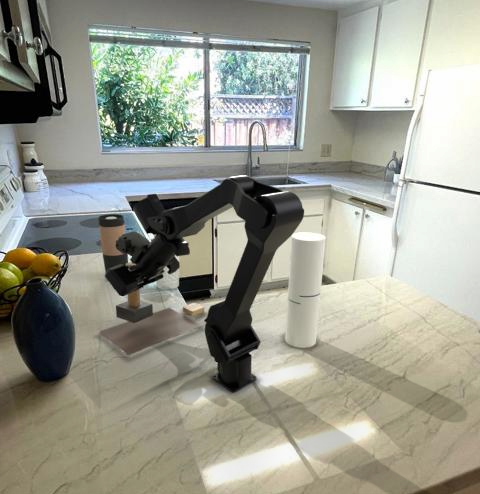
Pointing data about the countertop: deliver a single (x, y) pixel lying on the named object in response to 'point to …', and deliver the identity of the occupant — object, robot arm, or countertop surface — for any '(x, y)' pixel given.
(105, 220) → the travel mug
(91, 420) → the countertop surface
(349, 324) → the countertop surface
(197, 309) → the tan wooden block
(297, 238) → the cylindrical container
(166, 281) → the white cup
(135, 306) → the stamp
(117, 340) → the cutting board
